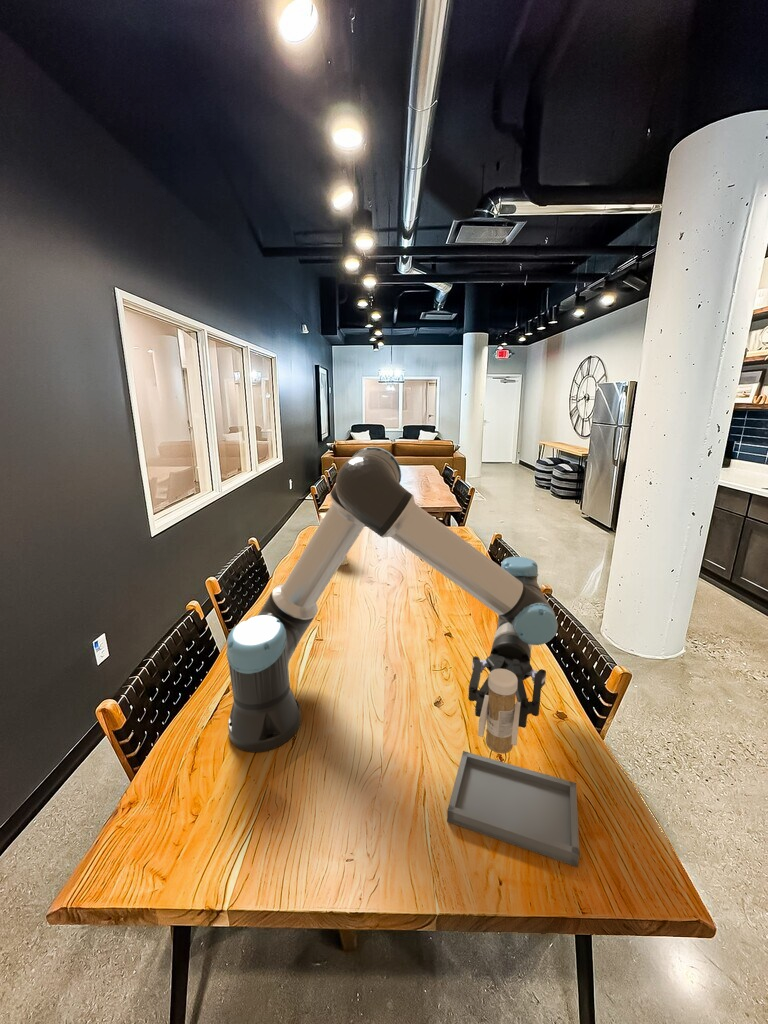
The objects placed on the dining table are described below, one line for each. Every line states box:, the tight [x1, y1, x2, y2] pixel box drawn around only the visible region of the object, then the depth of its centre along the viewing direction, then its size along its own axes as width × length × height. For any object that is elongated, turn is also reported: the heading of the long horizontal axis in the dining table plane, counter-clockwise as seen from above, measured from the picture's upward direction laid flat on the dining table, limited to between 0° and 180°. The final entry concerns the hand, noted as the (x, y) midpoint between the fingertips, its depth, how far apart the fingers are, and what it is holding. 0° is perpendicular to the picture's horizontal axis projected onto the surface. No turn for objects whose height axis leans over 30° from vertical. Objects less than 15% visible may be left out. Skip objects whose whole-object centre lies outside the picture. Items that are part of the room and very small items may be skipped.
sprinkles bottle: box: [485, 669, 518, 754], centre depth 70 cm, size 5×5×13 cm
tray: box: [446, 750, 580, 868], centre depth 73 cm, size 20×13×2 cm, turn 68°
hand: (497, 733), depth 66 cm, fingers closed on sprinkles bottle, 4 cm apart
